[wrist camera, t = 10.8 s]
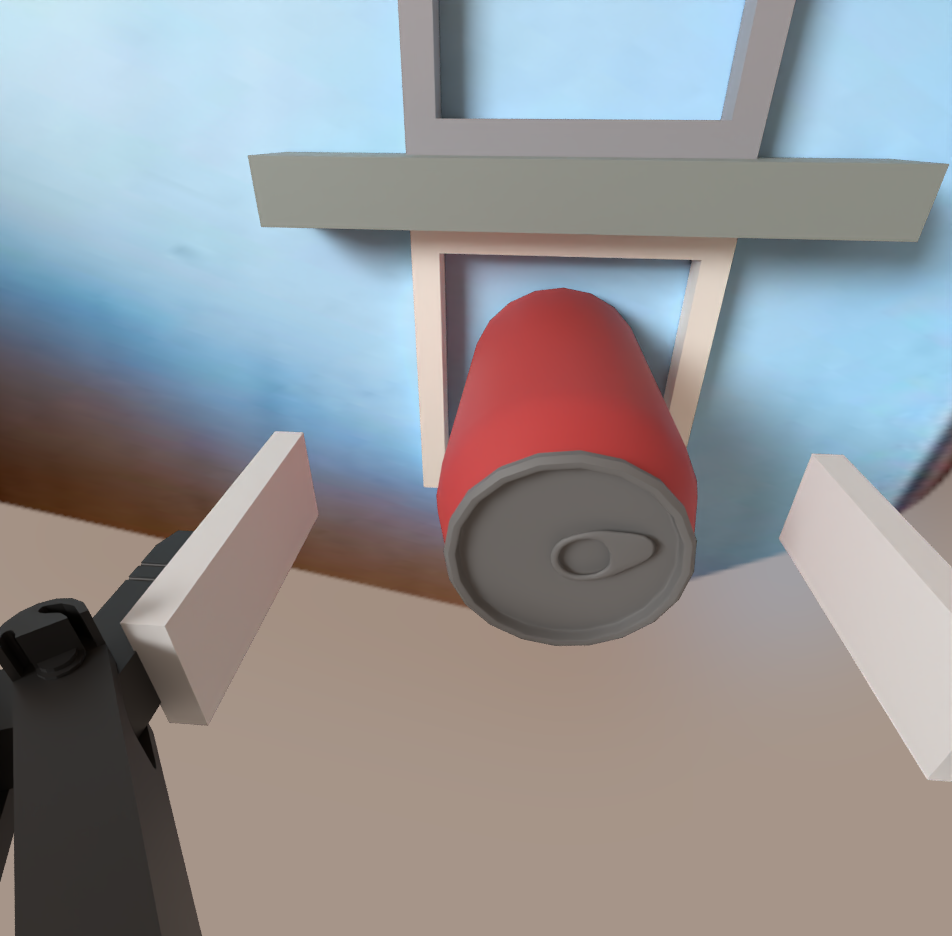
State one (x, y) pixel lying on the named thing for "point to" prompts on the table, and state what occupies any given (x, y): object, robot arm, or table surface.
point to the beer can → (565, 478)
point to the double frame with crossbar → (591, 196)
